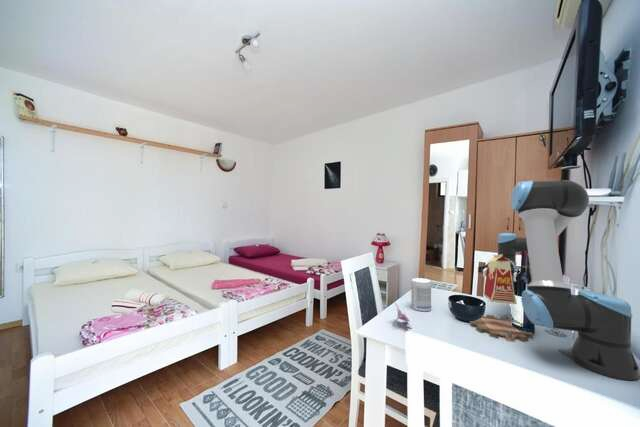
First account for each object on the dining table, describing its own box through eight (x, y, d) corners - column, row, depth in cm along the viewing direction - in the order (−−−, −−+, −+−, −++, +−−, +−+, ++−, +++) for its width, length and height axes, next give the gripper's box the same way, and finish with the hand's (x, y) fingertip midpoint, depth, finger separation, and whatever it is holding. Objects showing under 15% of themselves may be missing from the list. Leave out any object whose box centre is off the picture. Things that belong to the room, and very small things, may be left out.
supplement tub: (434, 309, 132) (435, 280, 131) (424, 313, 126) (424, 283, 126) (417, 303, 139) (418, 276, 139) (407, 307, 134) (407, 279, 134)
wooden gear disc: (544, 345, 97) (544, 337, 97) (478, 337, 103) (478, 329, 103) (517, 321, 118) (517, 314, 118) (463, 315, 124) (464, 309, 124)
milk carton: (516, 304, 105) (517, 255, 105) (491, 302, 107) (491, 254, 107) (506, 296, 114) (506, 251, 113) (482, 295, 116) (483, 250, 116)
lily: (408, 337, 104) (418, 316, 105) (381, 320, 109) (392, 300, 110) (408, 334, 115) (417, 314, 116) (384, 319, 120) (393, 300, 121)
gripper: (534, 279, 116) (533, 290, 99) (477, 271, 131) (468, 279, 114) (534, 262, 116) (534, 271, 99) (477, 256, 131) (468, 263, 114)
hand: (498, 275), depth 107 cm, fingers closed on milk carton, 10 cm apart
